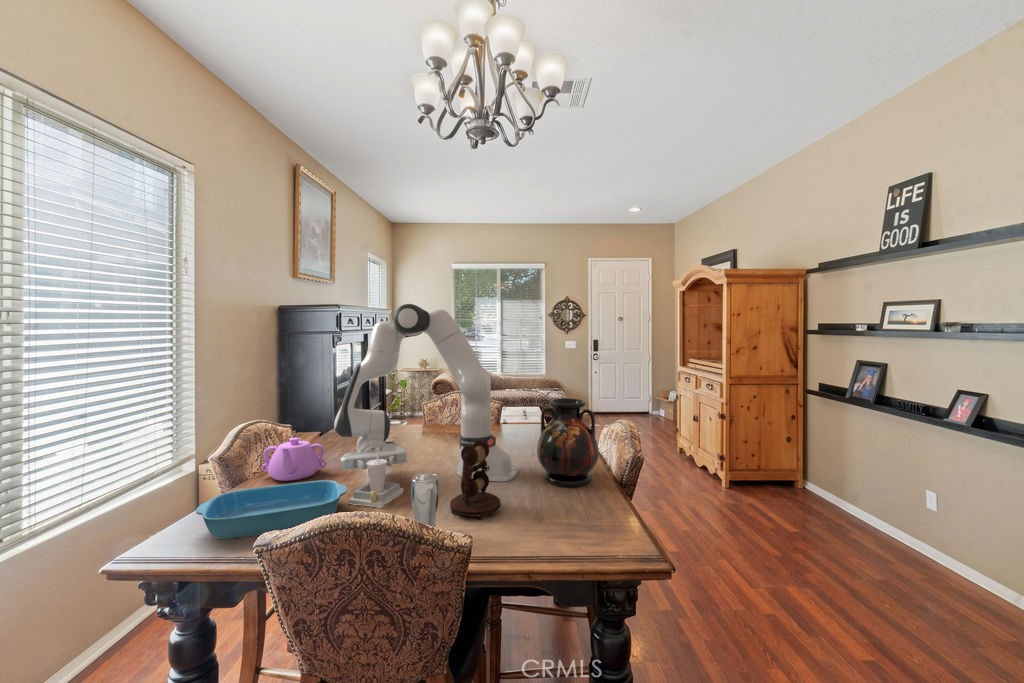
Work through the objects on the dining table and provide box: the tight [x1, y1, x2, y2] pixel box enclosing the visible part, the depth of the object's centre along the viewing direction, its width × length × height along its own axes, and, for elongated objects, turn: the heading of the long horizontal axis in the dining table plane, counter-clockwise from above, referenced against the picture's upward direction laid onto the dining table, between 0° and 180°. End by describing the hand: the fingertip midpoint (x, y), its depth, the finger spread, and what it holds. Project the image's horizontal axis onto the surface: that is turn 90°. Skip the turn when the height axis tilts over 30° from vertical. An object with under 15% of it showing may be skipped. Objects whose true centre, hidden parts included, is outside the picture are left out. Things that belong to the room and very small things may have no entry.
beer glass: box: [410, 473, 440, 528], centre depth 113 cm, size 7×7×15 cm
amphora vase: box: [536, 398, 600, 488], centre depth 153 cm, size 22×22×28 cm
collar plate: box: [348, 481, 404, 509], centre depth 137 cm, size 11×13×4 cm
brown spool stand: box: [449, 440, 502, 521], centre depth 128 cm, size 15×15×20 cm
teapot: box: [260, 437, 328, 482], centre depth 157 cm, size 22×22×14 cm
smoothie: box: [366, 448, 387, 493], centre depth 137 cm, size 6×6×14 cm
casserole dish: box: [195, 479, 348, 540], centre depth 122 cm, size 37×22×7 cm, turn 115°
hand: (377, 465), depth 136 cm, fingers closed on smoothie, 6 cm apart
